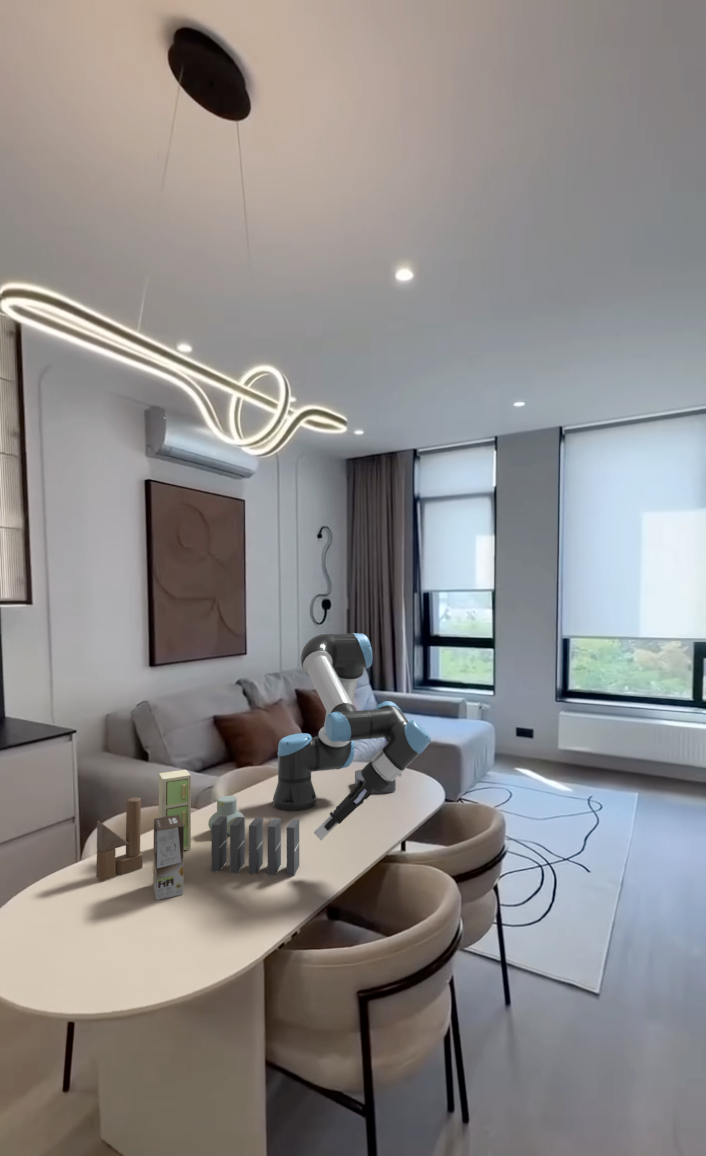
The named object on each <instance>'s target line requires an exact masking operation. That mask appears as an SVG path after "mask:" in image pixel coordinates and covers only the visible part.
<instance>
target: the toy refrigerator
mask: <svg viewBox="0 0 706 1156" xmlns="http://www.w3.org/2000/svg"><path fill="white" fill-rule="evenodd" d="M191 780H192V779H191V773H190V772H189V771H188V770H187V769H179V770H174V771H173V770H172V771H166V772H160V773H158V818H162V817H166V816H172V815H179V816H180V819H181V821H182V823H183V825H184V850H186V851H189V849H190V850H191V849H192V848H191V847H192V844H191V843H192V841H191V840H192V838H191V836H192V834H191V830H192V828H191V827H192V826H191V825H192V820H191V808H192V806H191V805H192V804H191V803H192V802H191V801H192V800H191V798H192V797H191V795H192V793H191V791H192V789H191V787H192V786H191V785H192V784H191V783H192V781H191Z"/></svg>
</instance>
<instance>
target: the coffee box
mask: <svg viewBox="0 0 706 1156" xmlns="http://www.w3.org/2000/svg"><path fill="white" fill-rule="evenodd" d="M184 855H185V853H184V825H183V823H182V821H181V819H180V816H179V815H172V816H166V817H162V818H159V817H157V818H153V858H152V860H153V863H152V864H153V869H152V873H153V877H152V879H153V881H152V885H153V890H154V895H155V899H156V901H157V900H158V901H159V900H163V899H169V898H172V897H178V896H182V895H183V894H184V857H185V856H184Z"/></svg>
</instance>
